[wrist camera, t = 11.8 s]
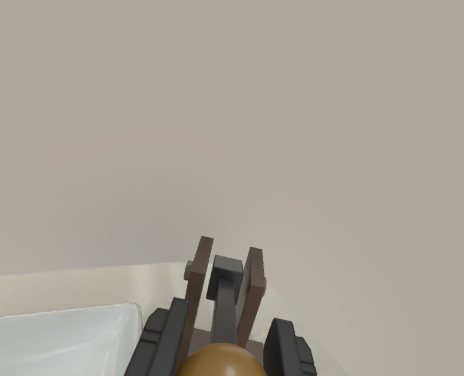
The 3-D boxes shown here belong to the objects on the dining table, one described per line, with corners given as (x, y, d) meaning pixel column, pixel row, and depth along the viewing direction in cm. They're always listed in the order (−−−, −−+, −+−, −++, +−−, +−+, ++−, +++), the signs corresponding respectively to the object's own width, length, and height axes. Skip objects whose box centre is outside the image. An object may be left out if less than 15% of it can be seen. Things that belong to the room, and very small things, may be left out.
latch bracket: (265, 461, 20) (328, 329, 15) (108, 429, 20) (120, 284, 15) (260, 350, 28) (299, 243, 23) (150, 327, 28) (167, 213, 23)
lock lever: (269, 543, 7) (301, 414, 7) (136, 517, 7) (165, 386, 7) (242, 298, 21) (252, 254, 21) (198, 288, 21) (208, 245, 21)
